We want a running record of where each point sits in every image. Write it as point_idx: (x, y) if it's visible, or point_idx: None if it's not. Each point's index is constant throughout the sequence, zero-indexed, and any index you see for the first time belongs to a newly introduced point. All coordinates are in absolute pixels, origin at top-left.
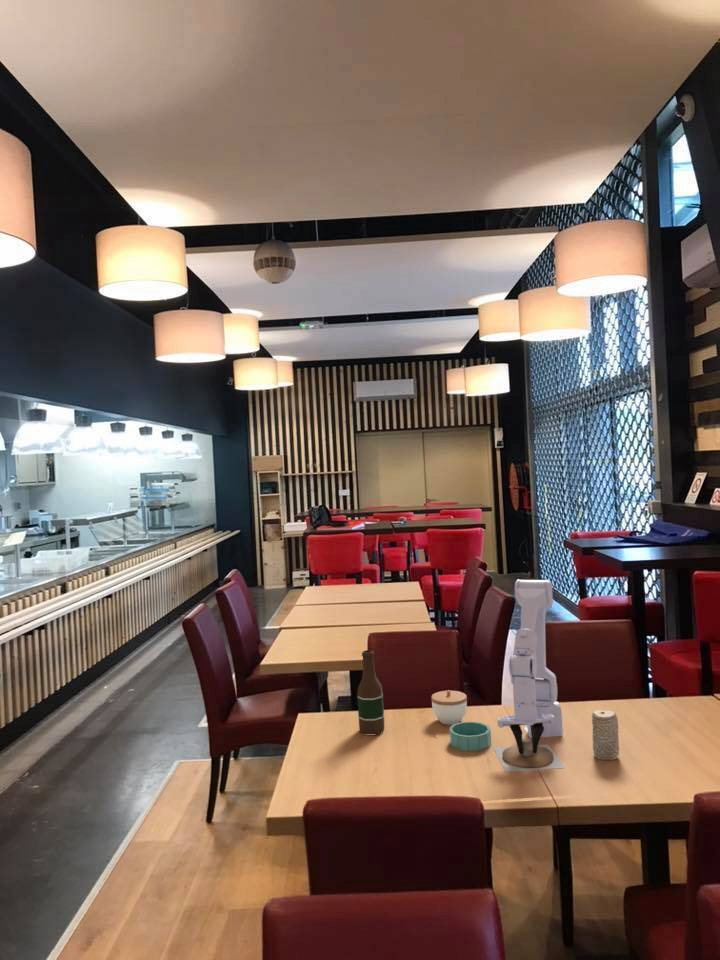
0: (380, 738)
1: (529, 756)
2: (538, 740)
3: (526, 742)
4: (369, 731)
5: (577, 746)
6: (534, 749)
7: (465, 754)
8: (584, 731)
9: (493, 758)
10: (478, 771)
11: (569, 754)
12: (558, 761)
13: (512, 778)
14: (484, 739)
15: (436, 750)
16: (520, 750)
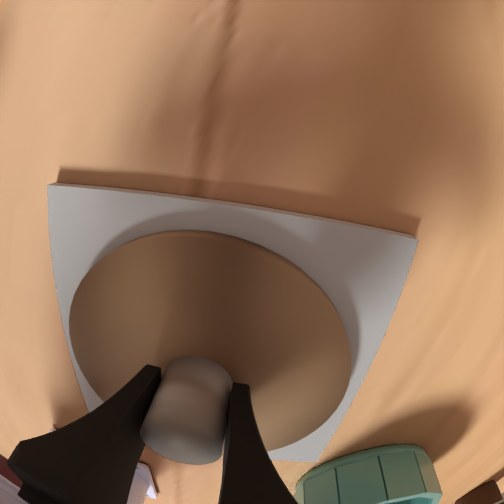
0: (489, 475)
1: (196, 357)
2: (96, 412)
3: (188, 436)
4: (493, 486)
5: (13, 367)
6: (150, 380)
7: (425, 436)
8: (13, 417)
9: (360, 407)
10: (491, 303)
11: (28, 331)
12: (60, 271)
13: (403, 163)
14: (353, 491)
15: (464, 450)
16: (248, 399)
